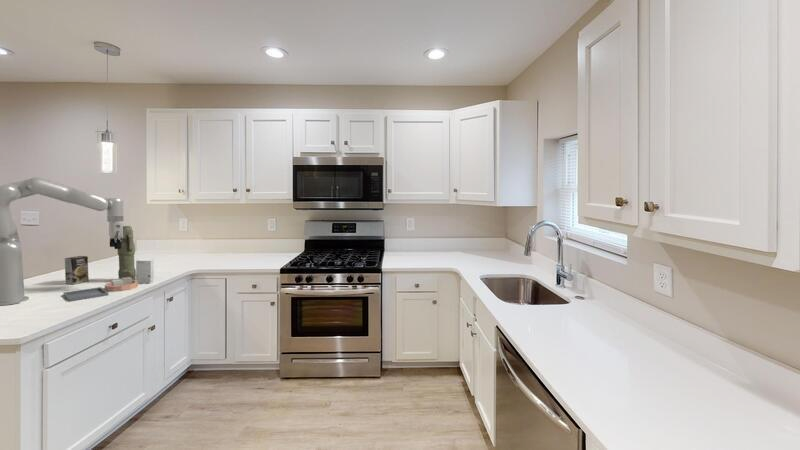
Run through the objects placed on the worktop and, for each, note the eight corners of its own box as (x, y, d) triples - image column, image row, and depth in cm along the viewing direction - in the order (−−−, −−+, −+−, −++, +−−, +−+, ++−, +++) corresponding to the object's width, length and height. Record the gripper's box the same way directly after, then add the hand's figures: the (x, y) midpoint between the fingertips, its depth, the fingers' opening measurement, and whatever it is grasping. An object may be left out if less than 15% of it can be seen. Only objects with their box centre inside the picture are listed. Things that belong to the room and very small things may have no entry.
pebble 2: (123, 287, 214) (123, 279, 213) (120, 286, 216) (120, 278, 216) (132, 286, 217) (132, 278, 217) (129, 284, 220) (129, 276, 219)
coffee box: (73, 284, 219) (72, 258, 217) (65, 284, 220) (63, 257, 218) (89, 281, 227) (88, 256, 226) (81, 280, 229) (79, 255, 227)
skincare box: (135, 284, 225) (134, 260, 223) (139, 281, 231) (138, 258, 229) (151, 283, 227) (150, 260, 226) (154, 281, 233) (154, 258, 232)
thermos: (126, 283, 226) (124, 227, 223) (114, 280, 230) (111, 226, 227) (140, 280, 234) (139, 226, 231) (128, 278, 238) (126, 225, 235)
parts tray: (69, 302, 187) (69, 298, 186) (63, 296, 197) (63, 292, 196) (108, 296, 199) (108, 292, 199) (100, 290, 209) (100, 287, 209)
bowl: (109, 293, 203) (109, 287, 203) (102, 288, 212) (102, 283, 212) (141, 288, 215) (140, 283, 215) (132, 284, 224) (132, 278, 224)
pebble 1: (114, 290, 208) (113, 281, 207) (111, 288, 210) (111, 280, 210) (123, 288, 211) (123, 280, 211) (121, 287, 214) (120, 279, 213)
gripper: (127, 220, 210) (127, 249, 211) (118, 217, 221) (119, 245, 222) (111, 220, 204) (111, 250, 206) (103, 218, 215) (103, 246, 216)
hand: (115, 247), depth 214 cm, fingers open, 9 cm apart
